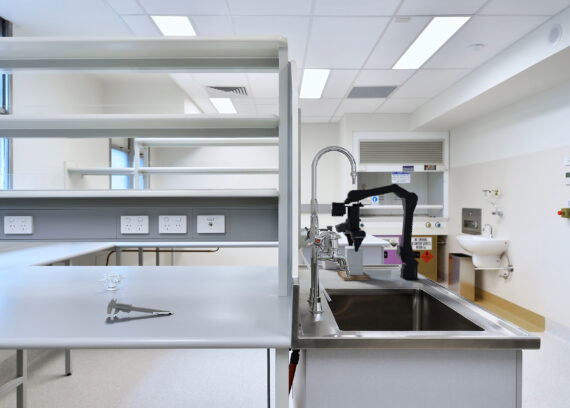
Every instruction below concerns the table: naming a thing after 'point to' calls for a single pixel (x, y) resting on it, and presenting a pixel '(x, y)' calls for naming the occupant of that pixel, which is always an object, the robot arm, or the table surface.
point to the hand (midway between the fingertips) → (353, 249)
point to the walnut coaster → (353, 276)
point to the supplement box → (354, 260)
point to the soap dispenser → (326, 263)
